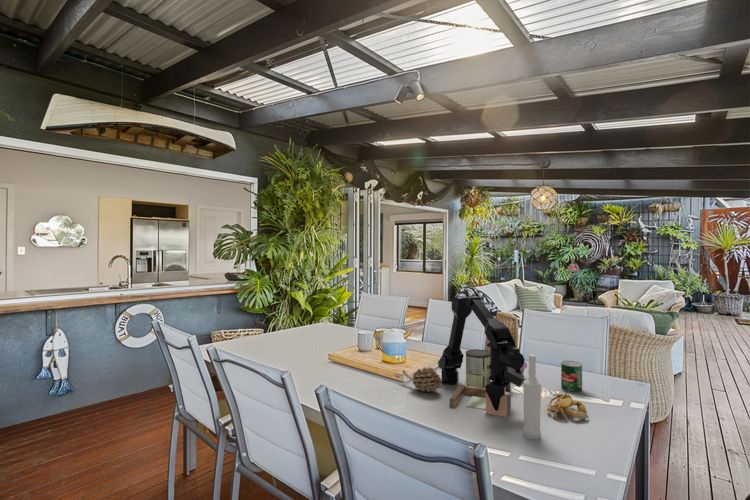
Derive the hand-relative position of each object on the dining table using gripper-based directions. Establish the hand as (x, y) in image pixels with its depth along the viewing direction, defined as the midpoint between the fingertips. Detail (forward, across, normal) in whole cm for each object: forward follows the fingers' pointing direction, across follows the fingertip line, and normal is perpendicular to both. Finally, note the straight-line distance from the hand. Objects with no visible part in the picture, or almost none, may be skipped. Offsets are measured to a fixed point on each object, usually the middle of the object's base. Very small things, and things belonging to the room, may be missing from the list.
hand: (498, 405), depth 145 cm
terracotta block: (+2, 0, 0) cm, 2 cm away
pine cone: (+3, +11, +33) cm, 35 cm away
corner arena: (+2, +6, +9) cm, 11 cm away
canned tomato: (+3, +36, -24) cm, 43 cm away
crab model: (+3, +9, -22) cm, 24 cm away
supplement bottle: (+3, +25, +2) cm, 25 cm away
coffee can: (+3, +26, +12) cm, 29 cm away
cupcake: (+3, +42, -2) cm, 42 cm away
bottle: (+3, -14, -12) cm, 19 cm away
